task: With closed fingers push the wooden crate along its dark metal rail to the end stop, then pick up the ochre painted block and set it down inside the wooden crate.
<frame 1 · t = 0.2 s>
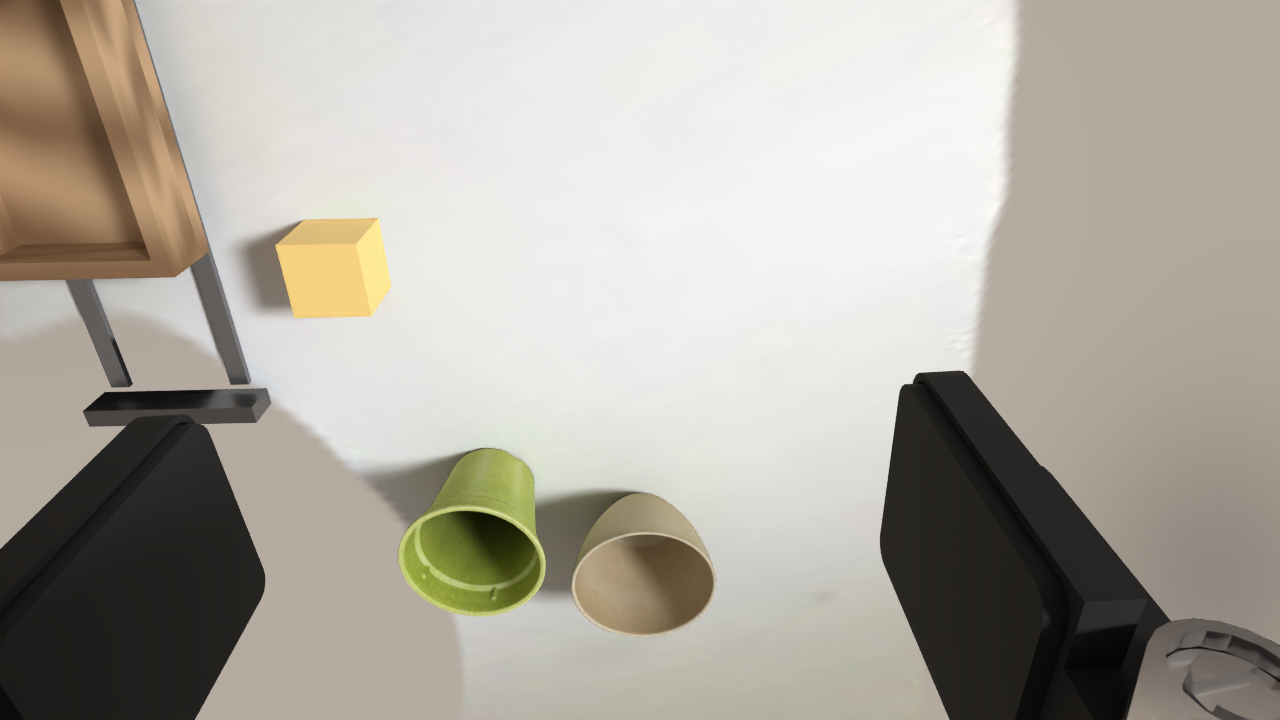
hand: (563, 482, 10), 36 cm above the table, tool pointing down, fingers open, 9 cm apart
block: (349, 253, 47), on the table
rail: (116, 195, 45), on the table
plant pot: (492, 478, 56), on the table
flower pot: (641, 516, 58), on the table
wooden crate: (32, 124, 39), point 4 cm above the table, slide at 0.0 cm
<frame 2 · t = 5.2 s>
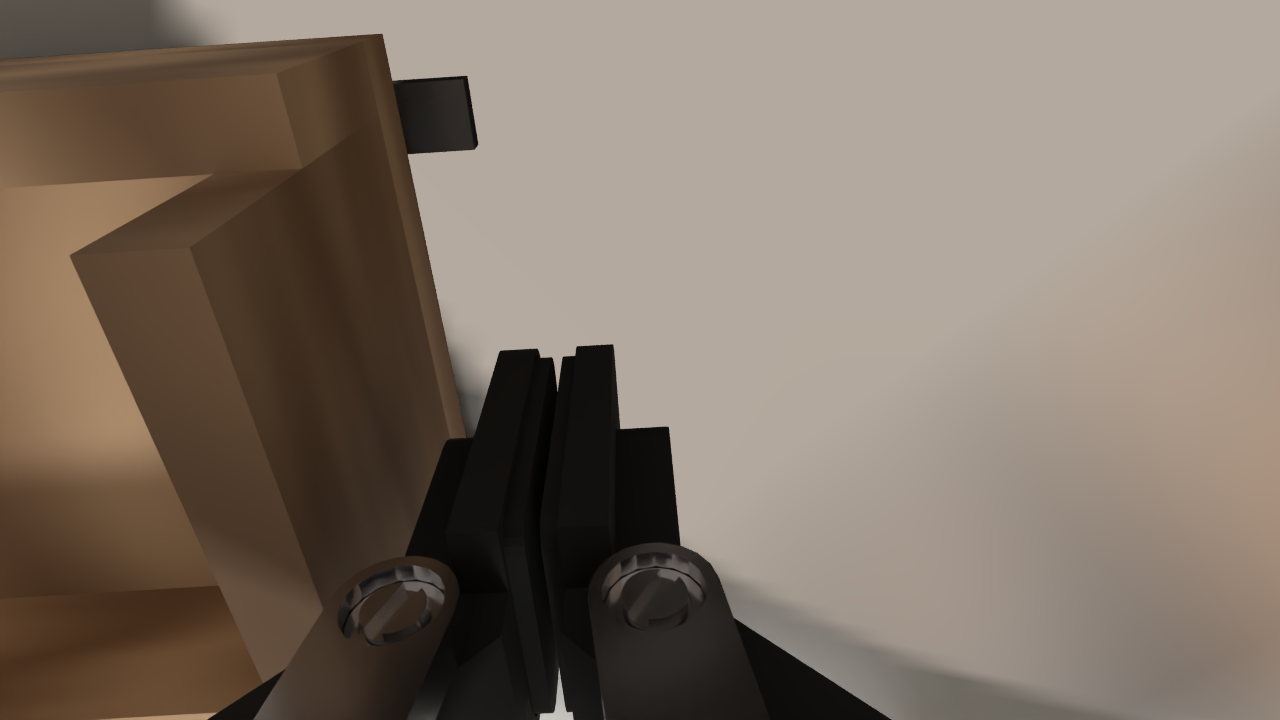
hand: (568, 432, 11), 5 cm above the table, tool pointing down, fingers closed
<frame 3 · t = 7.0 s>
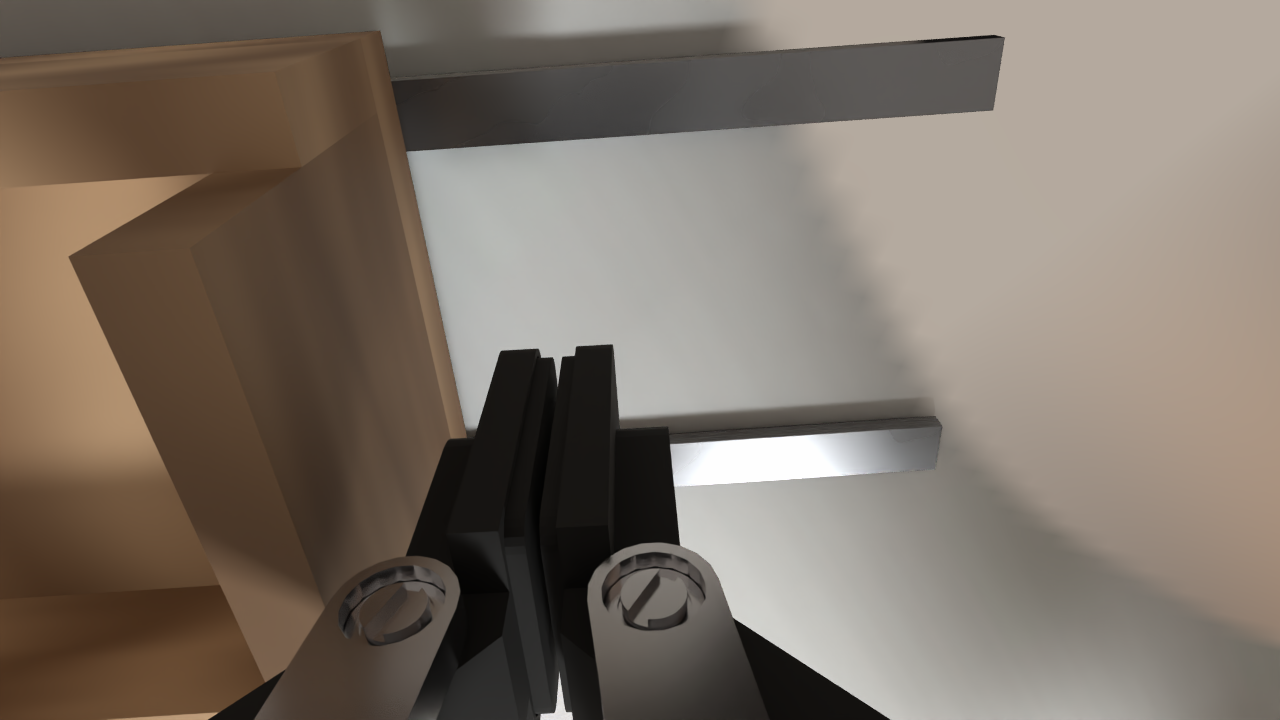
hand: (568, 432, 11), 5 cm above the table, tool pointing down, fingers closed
rail: (325, 321, 16), on the table
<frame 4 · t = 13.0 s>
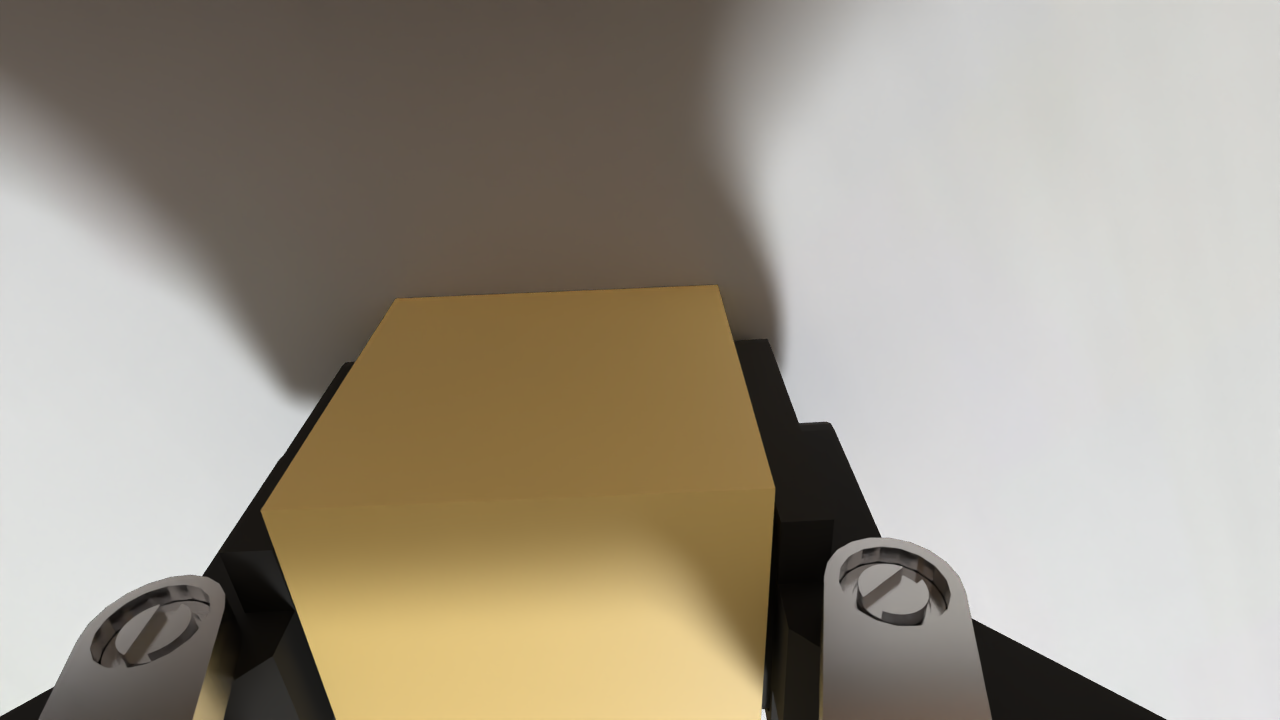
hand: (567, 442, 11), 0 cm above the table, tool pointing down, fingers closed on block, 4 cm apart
block: (569, 425, 12), on the table, touching gripper
when the fingers open (5 cm above the table, at t = 17.4 s): block drops 2 cm, resting on wooden crate.
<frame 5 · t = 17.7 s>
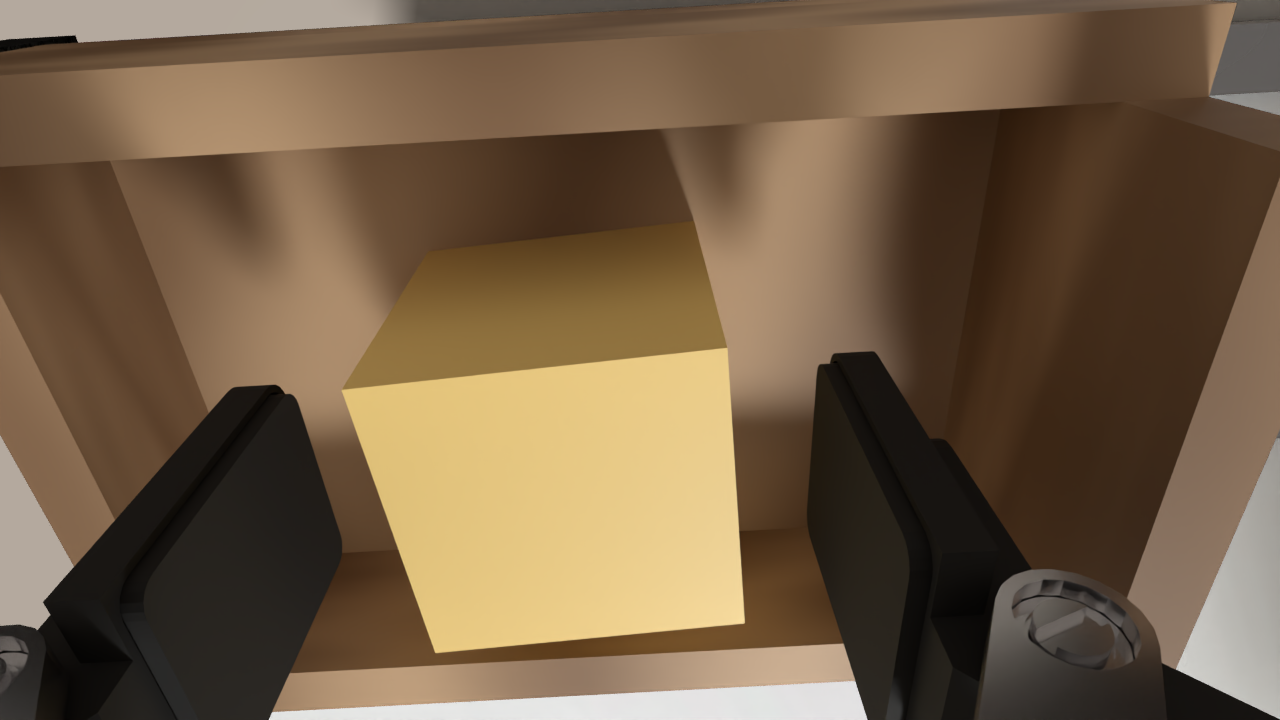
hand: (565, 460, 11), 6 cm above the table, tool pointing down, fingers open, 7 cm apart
block: (580, 353, 14), point 3 cm above the table, touching wooden crate
rail: (818, 277, 16), on the table
wooden crate: (571, 399, 12), point 4 cm above the table, slide at 10.0 cm, touching block
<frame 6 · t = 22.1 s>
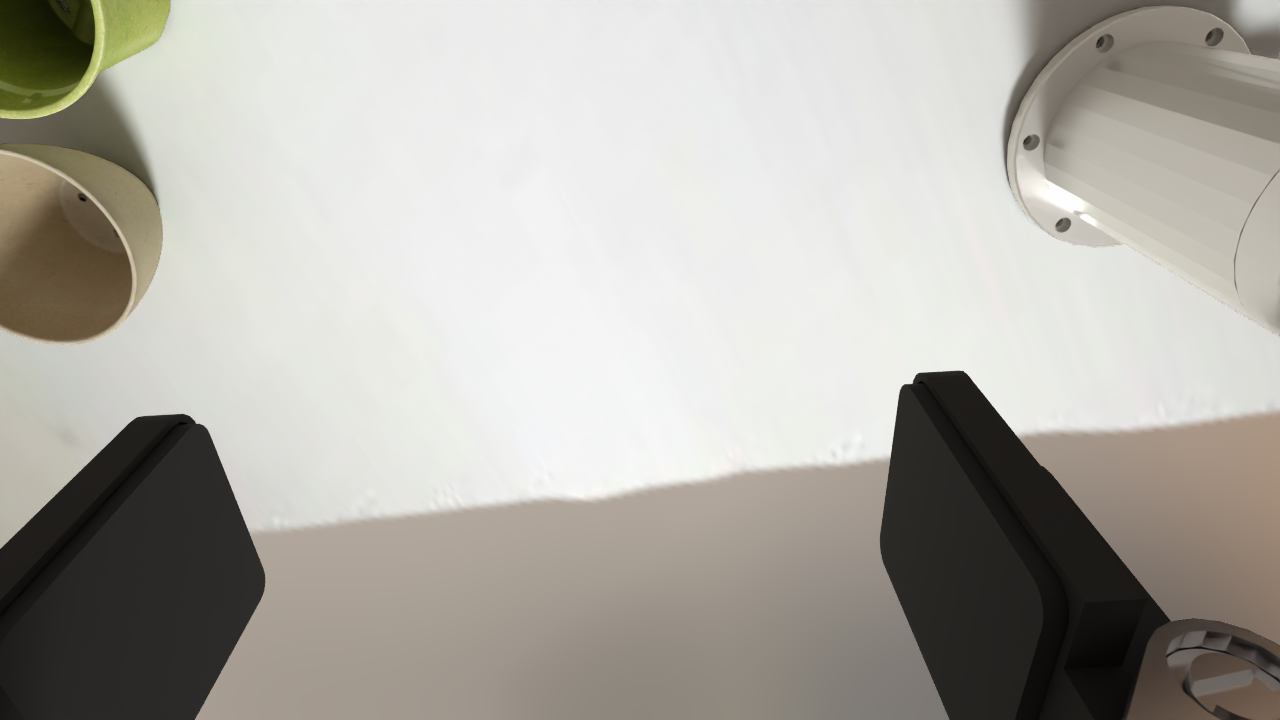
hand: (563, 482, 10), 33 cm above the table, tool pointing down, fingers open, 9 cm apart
flower pot: (115, 206, 42), on the table
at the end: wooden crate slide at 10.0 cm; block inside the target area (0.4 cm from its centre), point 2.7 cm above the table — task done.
